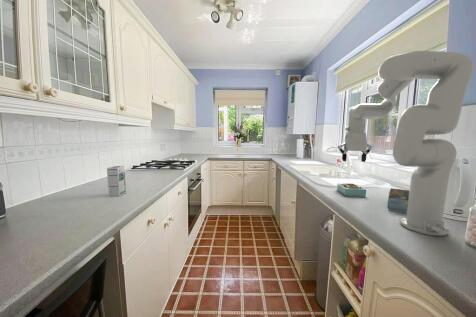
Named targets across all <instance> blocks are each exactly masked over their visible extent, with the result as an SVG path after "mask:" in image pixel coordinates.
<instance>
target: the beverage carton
mask: <svg viewBox="0 0 476 317" xmlns="http://www.w3.org/2000/svg"><path fill="white" fill-rule="evenodd" d="M409 190H410V189H409ZM409 190H408V189H401V188H390V190H389V192H388V201H387V210H389V211H395V212H400V213H405V214H407V207H408V199H409Z"/></svg>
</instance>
